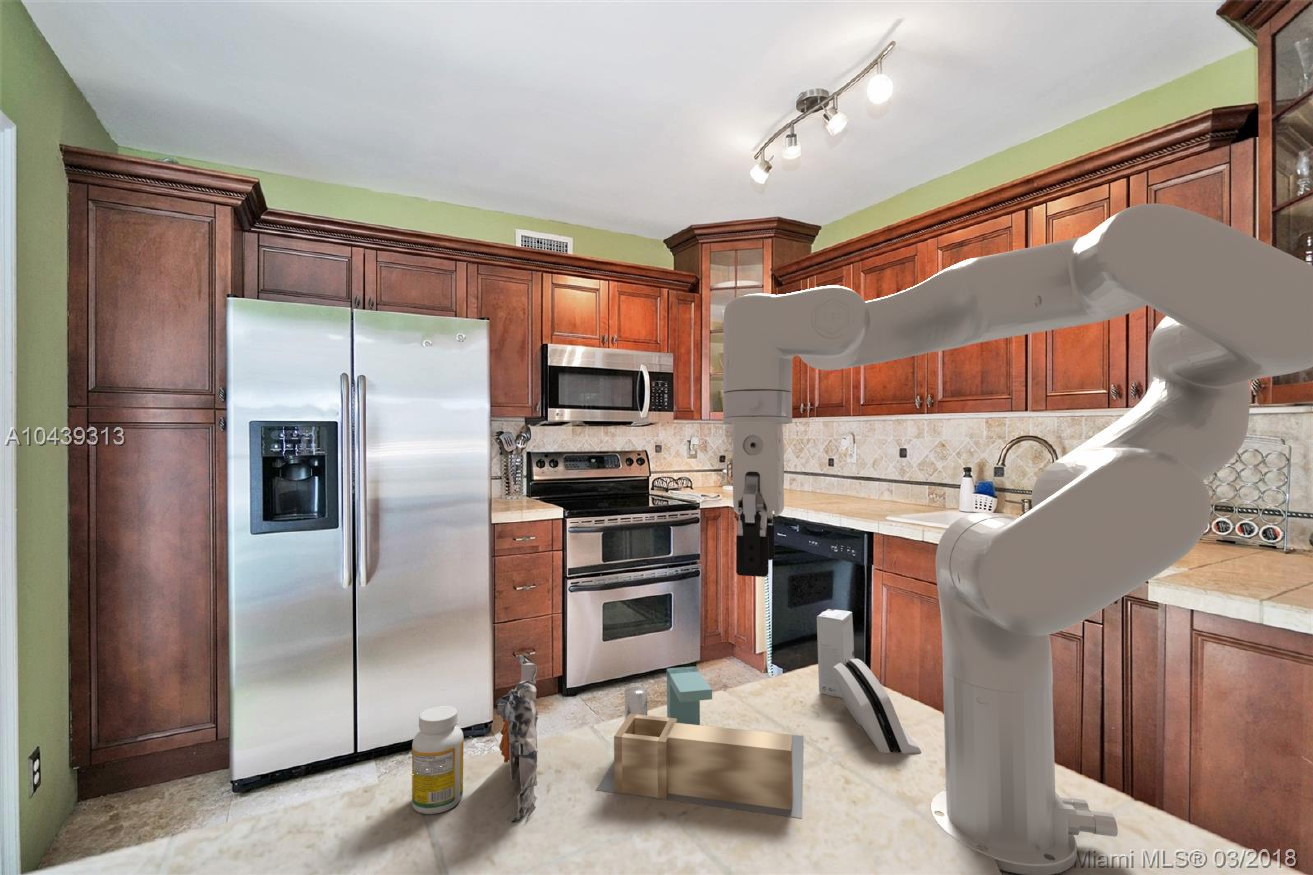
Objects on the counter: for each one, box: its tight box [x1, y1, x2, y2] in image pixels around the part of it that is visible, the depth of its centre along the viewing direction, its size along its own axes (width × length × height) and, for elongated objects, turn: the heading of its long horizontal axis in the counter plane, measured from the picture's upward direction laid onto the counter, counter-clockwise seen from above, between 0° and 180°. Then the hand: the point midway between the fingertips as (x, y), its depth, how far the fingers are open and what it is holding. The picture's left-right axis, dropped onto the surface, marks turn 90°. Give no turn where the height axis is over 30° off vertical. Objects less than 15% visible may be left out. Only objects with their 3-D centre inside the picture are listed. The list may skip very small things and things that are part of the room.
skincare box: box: [816, 608, 855, 699], centre depth 96 cm, size 6×4×12 cm
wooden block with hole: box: [613, 714, 793, 810], centre depth 66 cm, size 19×6×6 cm, turn 76°
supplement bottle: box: [411, 705, 465, 815], centre depth 66 cm, size 5×5×10 cm
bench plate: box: [595, 725, 805, 819], centre depth 71 cm, size 22×18×1 cm
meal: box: [494, 654, 539, 823], centre depth 67 cm, size 15×4×13 cm, turn 11°
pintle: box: [624, 685, 648, 720], centre depth 74 cm, size 3×3×8 cm
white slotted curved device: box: [833, 658, 922, 755], centre depth 81 cm, size 17×5×10 cm, turn 178°
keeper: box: [666, 665, 713, 725], centre depth 76 cm, size 4×8×8 cm, turn 11°
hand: (756, 566), depth 65 cm, fingers open, 9 cm apart
